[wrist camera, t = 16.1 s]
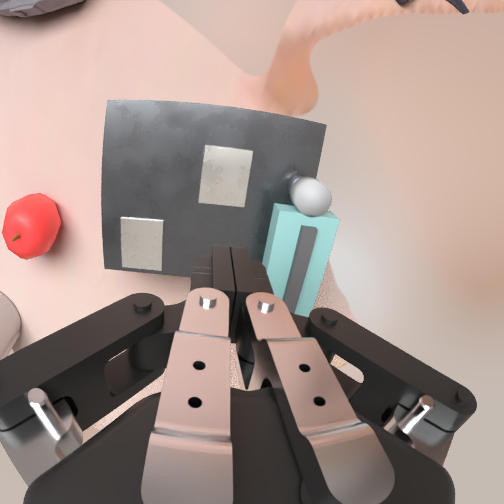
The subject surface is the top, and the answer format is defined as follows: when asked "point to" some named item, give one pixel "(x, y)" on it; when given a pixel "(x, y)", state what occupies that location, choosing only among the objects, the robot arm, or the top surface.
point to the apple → (31, 226)
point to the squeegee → (458, 3)
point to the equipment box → (196, 180)
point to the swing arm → (300, 244)
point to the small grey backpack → (32, 6)
